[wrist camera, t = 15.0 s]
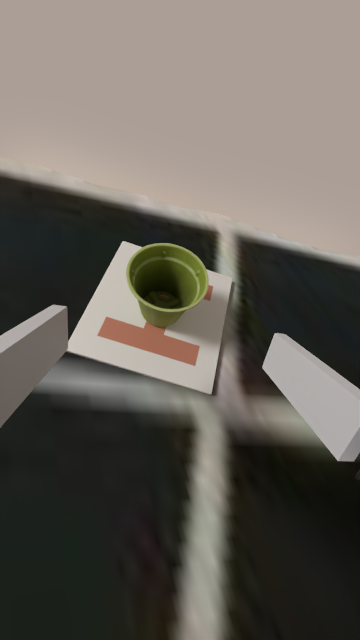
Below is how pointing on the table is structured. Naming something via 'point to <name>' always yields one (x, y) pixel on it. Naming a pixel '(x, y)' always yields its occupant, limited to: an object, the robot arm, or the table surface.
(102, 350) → the letter board
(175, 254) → the plant pot
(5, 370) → the robot arm
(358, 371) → the table surface
